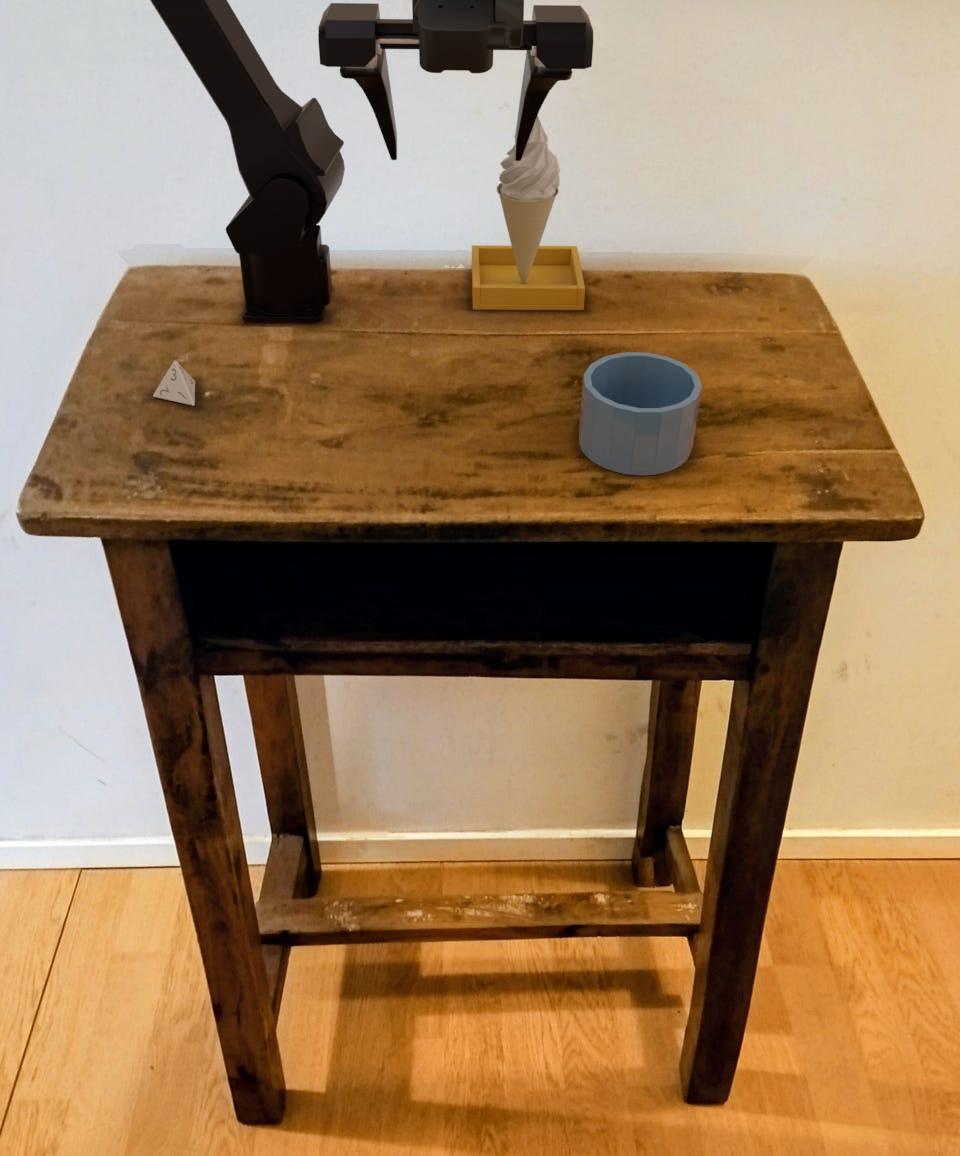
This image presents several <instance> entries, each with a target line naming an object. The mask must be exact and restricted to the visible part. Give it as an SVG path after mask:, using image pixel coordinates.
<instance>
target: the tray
mask: <svg viewBox="0 0 960 1156" xmlns="http://www.w3.org/2000/svg"><path fill="white" fill-rule="evenodd" d="M585 285H586V284H585V280H584V276H583V270H582V265H581V260H580V255H579V249H578V246H577V245H539V247H538V250H537V253H536V256H535V259H534V262H533V265H532V268H531V271H530V274H529V277H528V280H527V282H526V283H525V284H523V283H521V281H520V277H519V273H518V269H517V265H516V261H515V257H514V253H513V249H512V245H484V244H483V245H482V244H481V245H480V244H479V245H477V244H476V245H475V244H473V245H471V297H472V298H471V301H472V302H471V303H472V304H471V305H472V310H477V311H478V310H479V311H481V310H483V311H485V310H487V311H488V310H490V311H492V310H493V311H495V310H496V311H498V310H499V311H515V310H516V311H584V309H585V307H584V306H585V296H586V286H585Z"/></svg>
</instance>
